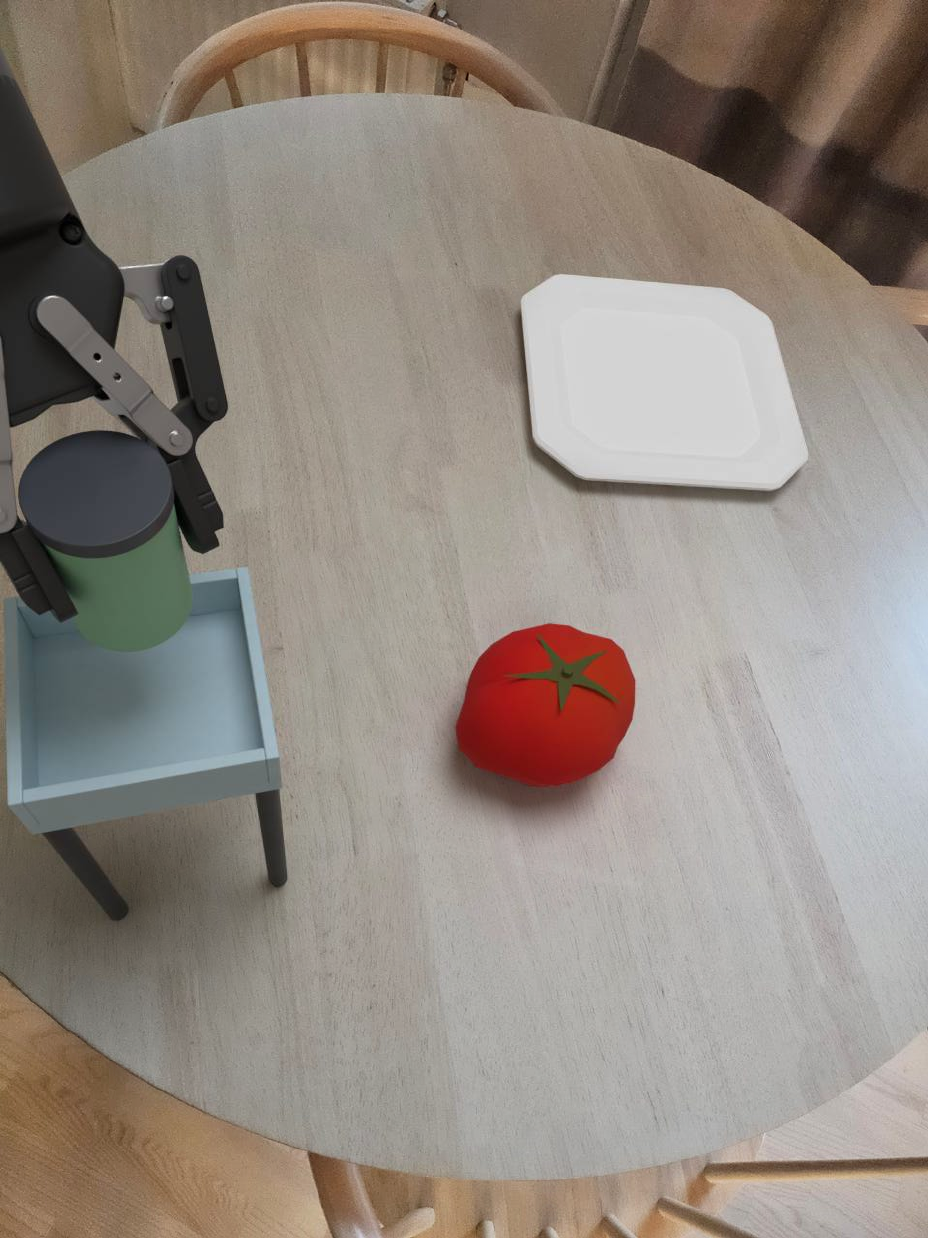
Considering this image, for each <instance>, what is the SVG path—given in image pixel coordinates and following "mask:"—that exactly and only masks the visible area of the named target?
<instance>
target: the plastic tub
mask: <svg viewBox="0 0 928 1238" xmlns="http://www.w3.org/2000/svg"><path fill="white" fill-rule="evenodd" d="M25 466H26V467H25V468H24V470H23V472H22V473H21V477H20V478H19V483H18V488H17V498H18V504H19V507H20V512H21V513H22V515H23V518H24V521H25V522H27V524H28V525H29V527H30V528H31V530H32V532H33V533H34V535H35V536H36V537H37V538H38V540H39V541H40V543H41V545H42V547H43V549H44V551H45V552H46V554H47V556H48V558H49V560H50V562H51V563H52V565H53V567H54V569H55V571H56V573H57V574H58V576H59V578H60V580H61V582H62V584H63V585H64V587H65V589H66V591H67V593H68V595H69V596H70V598H71V600H72V602H73V604H74V606H75V608H76V610H77V612H78V615H76V616H74V617H72V619H73V621H74V623H75V625H76V627H77V629H78V630H79V631H80V633H81V634H82V635H83V636H84V637H85V638H86V639H88V640H89V641H90V642H92V643H94V644H96V645H97V646H100V647H102V648H105V649H108V650H112V651H119V652H134V651H141V650H146V649H149V648H152V647H155V646H157V645H159V644H161V643H163V642H165V641H166V640H168V639H169V638H171V637H172V636H173V635H174V634H175V633H176V632H177V631H179V629H180V628H181V627H182V626H183V624H184V623H185V621H186V620H187V618H188V616H189V614H190V611H191V608H192V602H193V592H192V587H191V582H190V577H189V574H190V573H189V569H188V564H187V559H186V555H185V554H186V553H185V549H184V544H183V539H182V535H181V529H180V527H179V525H178V520H177V516H176V511H175V506H174V488H173V483H172V478H171V474H170V470H169V468H168V465H167V463H166V462H165V460H164V458H163V457H162V456H161V455H160V453H159V452H158V451H157V450H155V449H154V448H153V447H152V446H151V445H149V444H148V443H146V442H145V441H143V440H141V439H139V438H137V437H136V436H134V435H133V434H129V433H125V432H122V431H116V430H108V429H107V430H106V429H105V430H104V429H97V430H95V429H94V430H87V431H80V432H76V433H72V434H69V435H66V436H64V437H61V438H59V439H57V440H55V441H53V442H51V443H49V444H48V445H46V446H45V447H43V448H42V449H41V450H40V451H38V452H37V453H36V454H35V455H34V456H33V457H32V458H31V460H30V461H29V462H28V463H27V465H25Z"/></svg>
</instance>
